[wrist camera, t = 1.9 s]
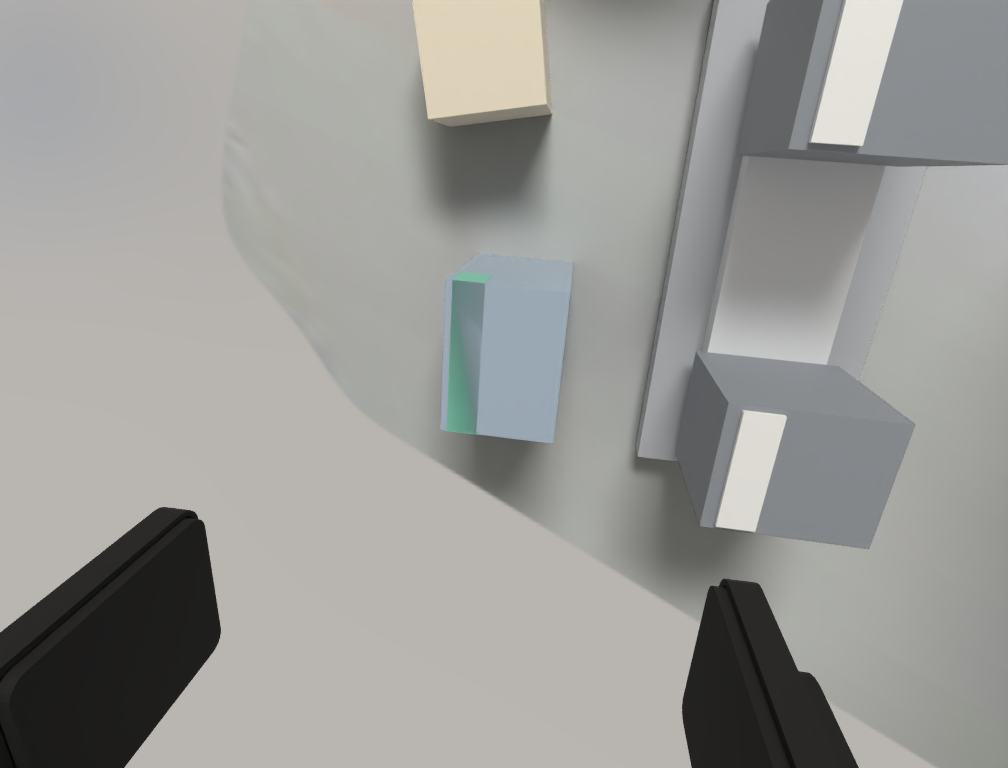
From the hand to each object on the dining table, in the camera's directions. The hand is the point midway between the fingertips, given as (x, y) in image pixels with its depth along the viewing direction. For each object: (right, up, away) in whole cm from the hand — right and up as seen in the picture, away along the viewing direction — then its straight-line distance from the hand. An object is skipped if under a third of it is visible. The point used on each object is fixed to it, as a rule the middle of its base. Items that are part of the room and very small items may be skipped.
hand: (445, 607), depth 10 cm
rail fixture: (+13, +10, +15) cm, 22 cm away
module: (+2, +7, +17) cm, 19 cm away
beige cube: (+1, +18, +14) cm, 22 cm away
